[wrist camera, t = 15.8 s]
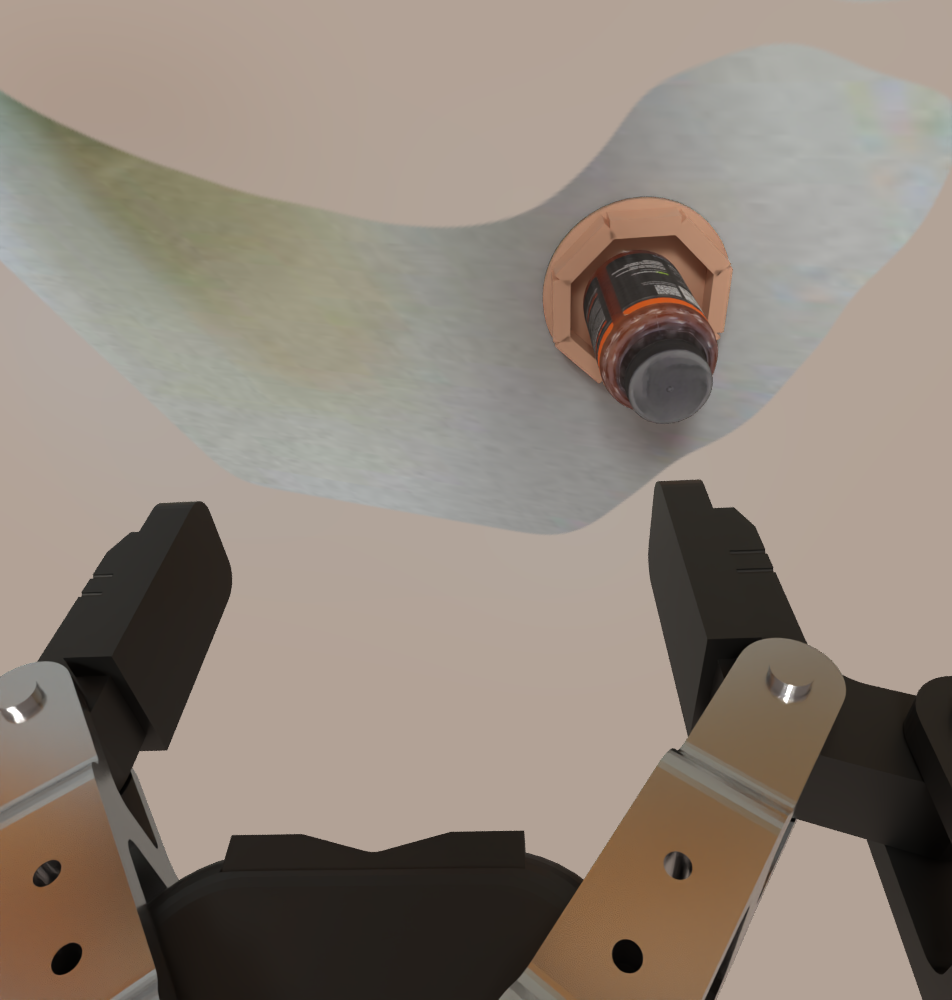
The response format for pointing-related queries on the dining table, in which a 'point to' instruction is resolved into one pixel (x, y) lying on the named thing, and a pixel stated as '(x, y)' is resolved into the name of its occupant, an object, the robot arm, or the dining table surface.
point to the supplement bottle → (650, 337)
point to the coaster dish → (625, 230)
